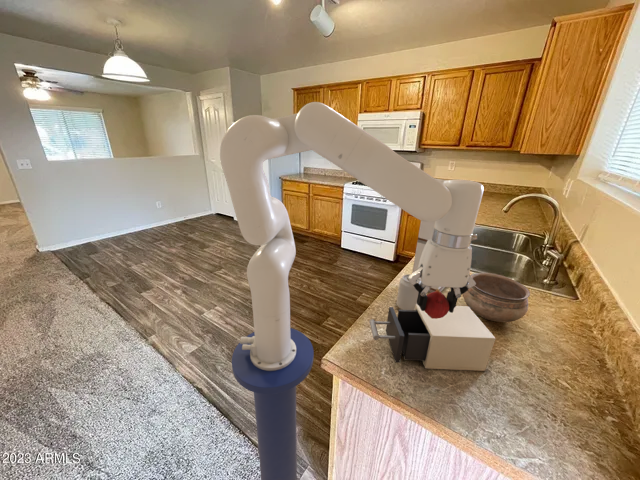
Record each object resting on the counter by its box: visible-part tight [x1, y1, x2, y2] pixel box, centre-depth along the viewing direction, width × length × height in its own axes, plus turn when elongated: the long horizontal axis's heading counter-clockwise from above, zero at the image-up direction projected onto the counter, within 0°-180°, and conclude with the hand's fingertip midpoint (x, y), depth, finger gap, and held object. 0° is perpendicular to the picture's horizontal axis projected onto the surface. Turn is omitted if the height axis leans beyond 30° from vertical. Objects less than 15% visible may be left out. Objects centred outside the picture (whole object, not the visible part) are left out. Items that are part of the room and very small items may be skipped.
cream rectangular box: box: [415, 304, 496, 372], centre depth 75 cm, size 16×14×11 cm
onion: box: [424, 289, 449, 319], centre depth 63 cm, size 6×6×8 cm
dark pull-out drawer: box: [369, 306, 431, 364], centre depth 75 cm, size 21×13×9 cm, turn 88°
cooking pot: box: [462, 272, 531, 323], centre depth 91 cm, size 25×19×12 cm
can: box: [396, 273, 421, 310], centre depth 94 cm, size 8×8×12 cm
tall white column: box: [411, 220, 446, 293], centre depth 106 cm, size 11×11×35 cm
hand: (435, 307), depth 64 cm, fingers closed on onion, 5 cm apart
